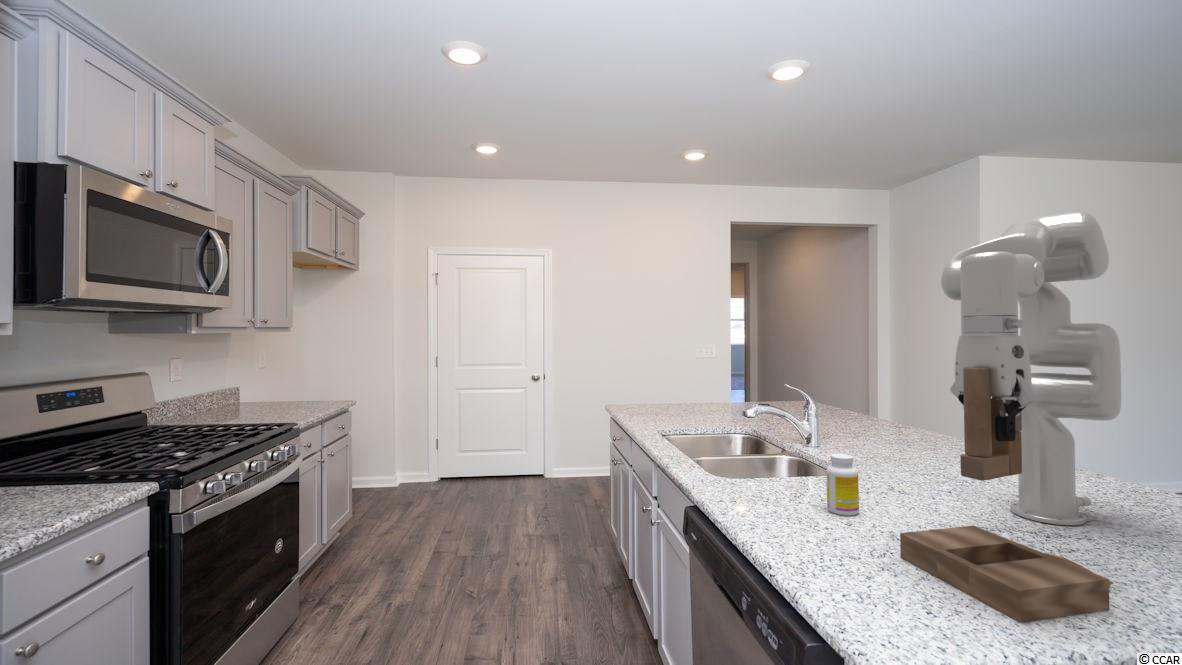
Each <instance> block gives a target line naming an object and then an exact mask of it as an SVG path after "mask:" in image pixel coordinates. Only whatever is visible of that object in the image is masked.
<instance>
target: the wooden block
mask: <svg viewBox="0 0 1182 665" xmlns="http://www.w3.org/2000/svg"><path fill="white" fill-rule="evenodd" d="M963 386H964V409H963V425H964V426H963V428H964V429H963V432H964V435H963V436H964V438H963V440H964V454H960V476H962V477H965V478H970V479H974V480H977V481H982V482H983V481H989V480H994V479H998V478H999V479H1000V478H1004V477H1009V476H1015V475H1018V474H1021V473H1022V443H1021V432H1020V431H1022V413H1021V412H1020V415H1019V416H1015V429H1016V434H1015V440H1014V441H1002V442H1000V441H997V440H996V439H995V417H996V416H1000V415H999V413H998V408H997V404H996V399H995V397H991V381H990V368H988V367H964V368H963ZM1016 398H1017V399H1018V398H1019V397H1017V396H1016ZM1006 405H1008V402H1007V400H1006Z"/></svg>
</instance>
